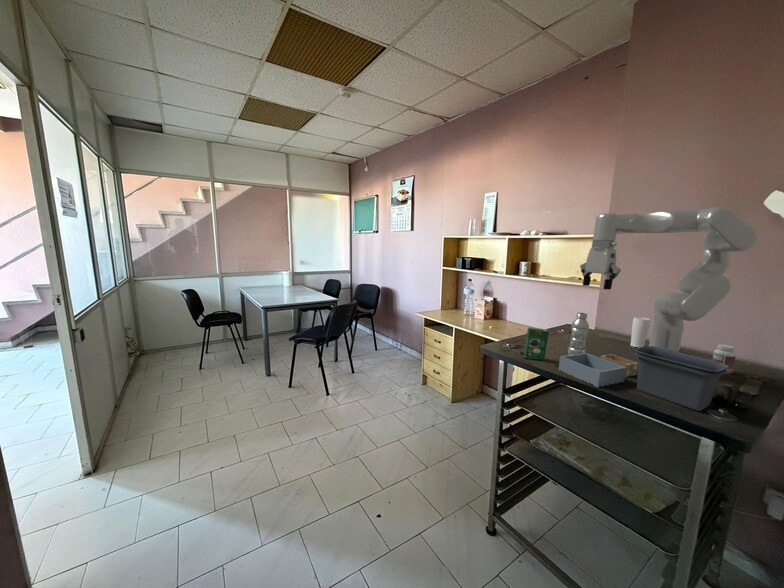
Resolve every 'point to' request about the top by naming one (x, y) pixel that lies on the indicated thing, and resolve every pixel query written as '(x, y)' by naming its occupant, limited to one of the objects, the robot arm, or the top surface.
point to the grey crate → (592, 369)
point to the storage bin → (678, 376)
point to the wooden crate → (623, 363)
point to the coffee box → (536, 343)
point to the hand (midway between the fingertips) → (596, 287)
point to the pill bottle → (725, 356)
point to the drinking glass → (639, 331)
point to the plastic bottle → (578, 334)
